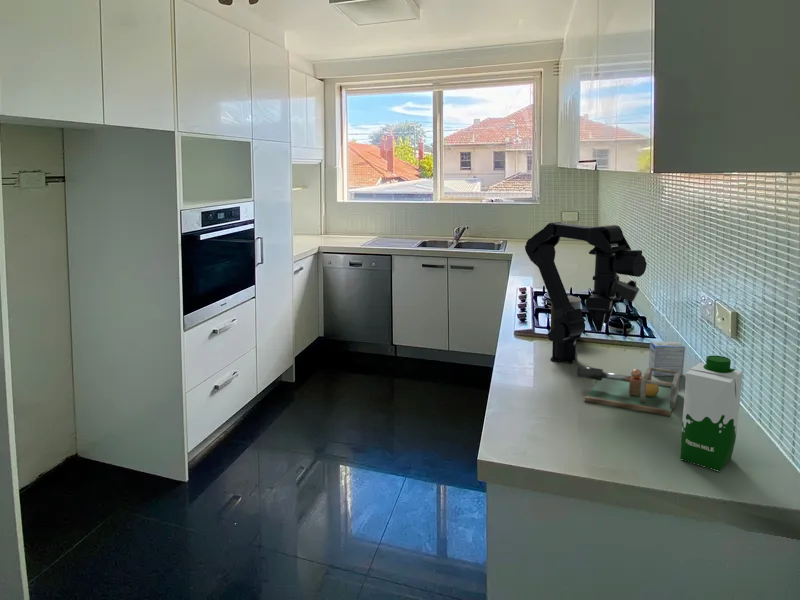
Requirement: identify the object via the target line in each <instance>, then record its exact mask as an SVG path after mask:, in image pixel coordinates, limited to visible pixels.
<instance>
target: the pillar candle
mask: <svg viewBox="0 0 800 600" xmlns="http://www.w3.org/2000/svg"><path fill="white" fill-rule="evenodd" d="M567 296H568V299H569V301H570V304H571V306H572V307H573V308H575V309H579V308H580V309H581V304H582V299H581V298H580V297H578V296H574V295H567ZM550 304H551V309H550V328H549V329H550V330H549V332H550V331H551V330H552V329H553V328H554V327H555V326H554V321H553V319H554V313H555V310H554V307H553V305H552V302H551V303H550Z"/></svg>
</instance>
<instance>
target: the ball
mask: <svg viewBox="0 0 800 600" xmlns="http://www.w3.org/2000/svg"><path fill="white" fill-rule="evenodd" d="M658 392H659V387H658V385H655V384H648V383H646V396H648V397H653V396H655V395H657V394H658Z"/></svg>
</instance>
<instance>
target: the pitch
mask: <svg viewBox="0 0 800 600" xmlns="http://www.w3.org/2000/svg"><path fill="white" fill-rule="evenodd" d="M652 371H659V372H666V373H673V374H675V376H673V380H672V381H664V380H659V379H658V380H657V379H652V377H653V375H652ZM680 378H681V376H680V372H678V371H675V370H668V369H660V368H653V367H649V366H647V368H646V370H645V372H644V374H643V376H642V380H641V390H640V395H639V396H636V395H630V394H629V385H630V382H625V381H618V380H611V379H605V378H602V381H600V380H596V381H597V382H596V383H595V384H594V386H593V387H592V389H591V390H590V392H589V393H588V395H585V396H584V402H585V403H590V404H595V405H601V406H607V407H613V408H618V409H624V410H630V411H636V412H642V413H647V414H651V415H652V414H653V415H658V416H664V417H671V413H672V410H674V409H675V407H676V404H677V400H678V396H679V391H680V380H681V379H680ZM646 383H648V384H655V385H658V387H659V392H658V394H657V395H655V396H653V397H648V396H646Z"/></svg>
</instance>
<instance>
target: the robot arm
mask: <svg viewBox="0 0 800 600" xmlns="http://www.w3.org/2000/svg"><path fill="white" fill-rule="evenodd" d="M561 238H564V239H565V238H566V239H572V240H577V241H583V242H586V243H588V244H589V245H591V246H594V247H593V248H592V249H591V250H589V251H588V255H593V256H595V260H594V261H595V262H594V275H593V276H592V281H593V290H592V291H591V295H590V296H589V297H588V298H586V299H585V300H584V301H585V303H584V307H585V308H586V310H587V311H588V313H589V316H590V318H591V320H592V322H593V325H594V327H595V330H596V332H602V330H603V328H604V327H603V326H604V324H605V325H606V324H609V322H610V319H611V316H612V312H613V310H614V306H615V304H617V303H618V302H620V300H621V299H625V300H626V301H627V302H631V303H633V302H634V301H635V299H636V297H637V295H638V293H639V291H640V288H639V287H638V286H637V281H636V280H635V281H634V280H632V279H630V280H629V281H628V282H627V283H626V281H622V280H620V276H619V275H622V276H629V277H636V278H639V277H642V276H643V275H644V274H645V272H646V269H647V265H648V264H647V263H648V262H647V261H646V257H645V256H644V255H643V250H642V249H635V250H634V249H632V248H631V246H630V244H629V242H628V241H627V239H626V237H625V235H624V233H623V230H622V228H621V226H619V225H616V224H612V225H601V226H589V225H588V226H587V225H581V224H573V223H572V224H571V223H565V222H561V221H556V222H555V221H553V222H549V223H548V224H546V225H545V226H544V227H543V229H540V230H539V231H537V232H536V233H534V235H532V236H531V237H530V238H528V239H527V240H526V243H525V245H524V249H525V250H524V251H525V252H526V255H527V257H528V258H529V260H530V262H532V263H533V265H535V266H536V267H537V268H538V271H539V272H540V273H539V274H540V275H541V277H542V280H543V283H544V286H545V288H546V289H545V290H546V291H547V293H548V296H549V298H550V302H551V303H552V305H553V307H554V310H555V313H554V319H553V321H554V326H555V327H554V328H553V329H552V330H551V331H550V330H549V331H548V333H547V337H548V341H550V342H552V348H551V349H552V354H551V357H550V358H549V359H550V361H554V362H559V363H560V362H561V363H568V364H572V363H574V361H575V360H576V359H577V358H578V354H579V353H578V348H579V347H578V346H579V345H578V344H577V340H580V339H581V337H582V335H583V333H584V331H585V329H586V323H585V322H586V321H587V320H586V319H585V317H584V315H583V312H582V310H581V307H580V308H579V309H575V308H573V307H572V306H571V304H570V301H569V299H568V296H569V295H568V294H567V291H566V289H565V286H564V284H563V281H562V279H561V276H560V273H559V270H558V269H557V266H556V263H555V258H556V246H557V245H558V244H559V243H560V241H561Z"/></svg>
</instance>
